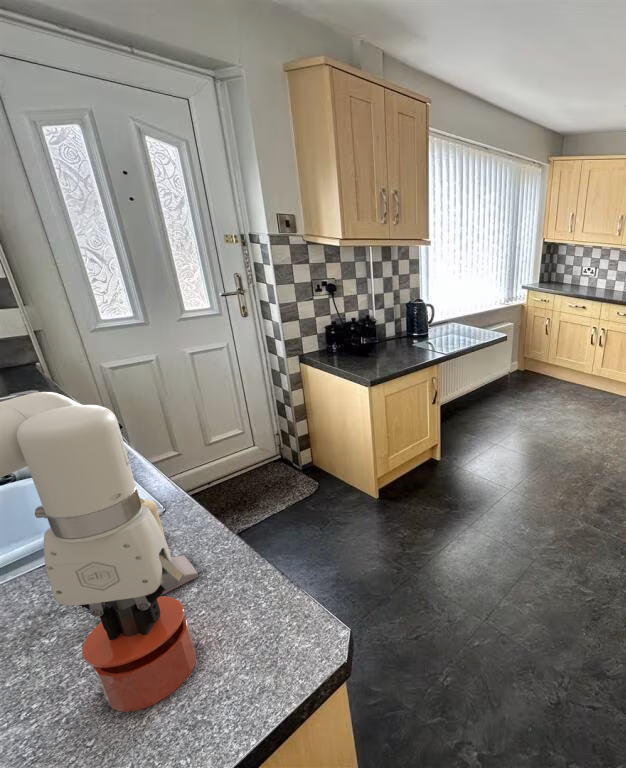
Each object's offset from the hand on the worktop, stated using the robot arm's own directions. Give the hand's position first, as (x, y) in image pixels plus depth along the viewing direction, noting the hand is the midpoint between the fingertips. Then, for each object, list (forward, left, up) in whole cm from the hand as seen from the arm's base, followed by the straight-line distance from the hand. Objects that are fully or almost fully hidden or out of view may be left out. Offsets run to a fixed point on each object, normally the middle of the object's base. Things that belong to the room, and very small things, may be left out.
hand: (135, 626), depth 55 cm
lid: (0, 0, -1) cm, 1 cm away
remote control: (-8, +17, -9) cm, 21 cm away
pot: (0, 0, -9) cm, 9 cm away
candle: (-13, +28, -9) cm, 32 cm away
